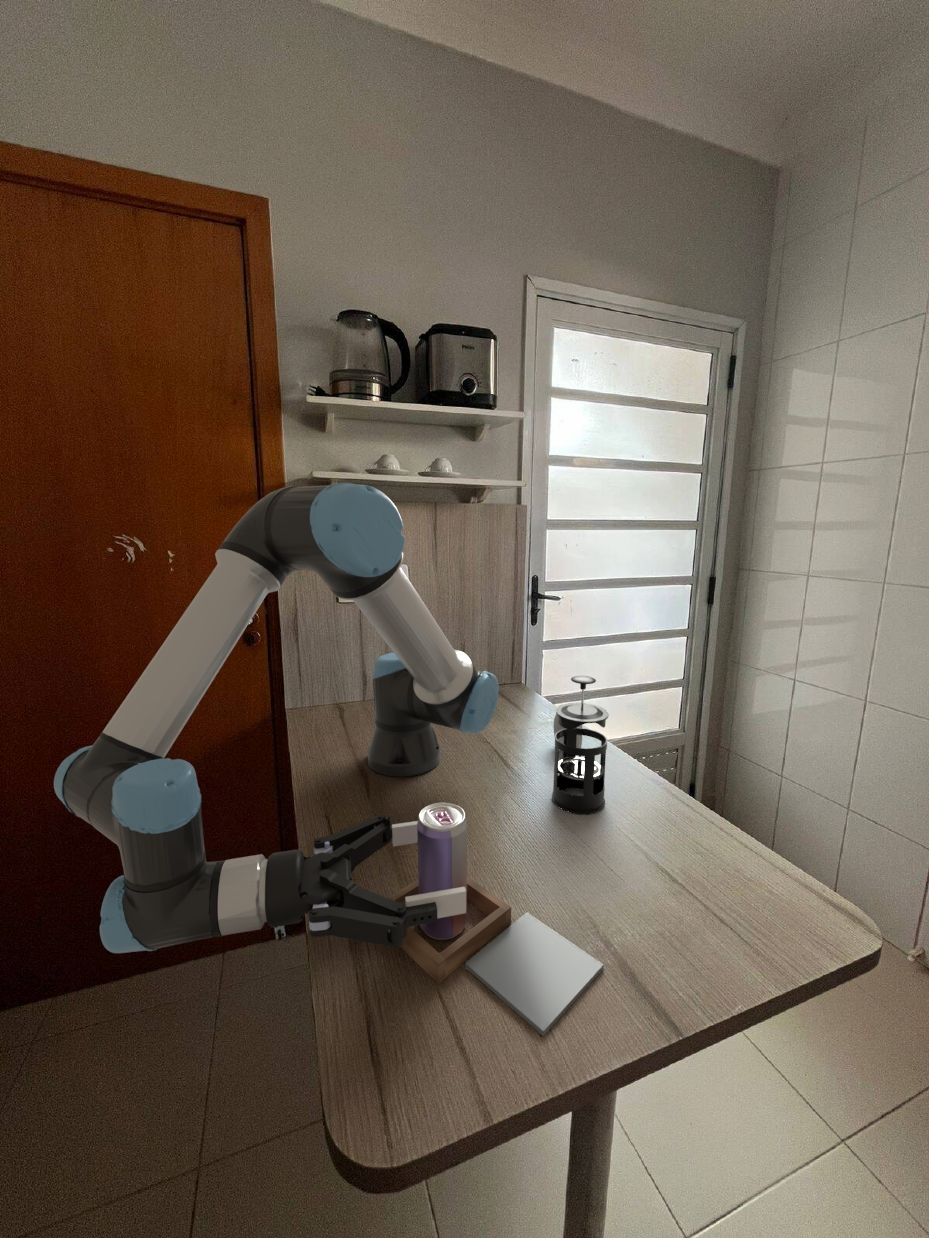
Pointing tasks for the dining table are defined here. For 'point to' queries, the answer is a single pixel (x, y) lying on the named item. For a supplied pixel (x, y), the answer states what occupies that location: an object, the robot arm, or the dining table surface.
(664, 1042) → the dining table surface
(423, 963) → the walnut holder
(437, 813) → the beverage can
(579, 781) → the french press
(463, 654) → the robot arm
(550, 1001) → the slate coaster
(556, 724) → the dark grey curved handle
